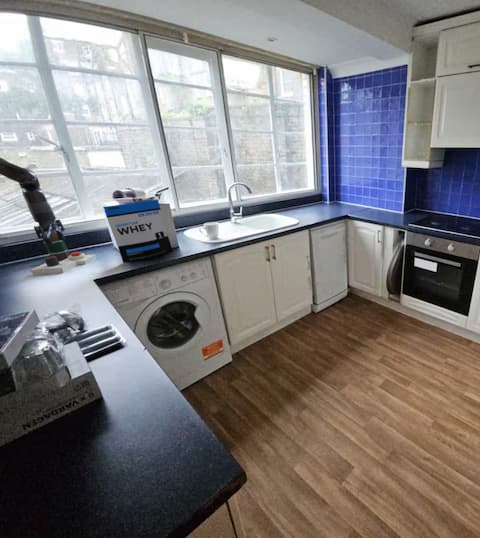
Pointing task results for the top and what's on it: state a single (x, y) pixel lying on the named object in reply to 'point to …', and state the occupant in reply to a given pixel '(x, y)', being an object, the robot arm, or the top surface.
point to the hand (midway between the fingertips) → (56, 242)
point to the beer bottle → (57, 247)
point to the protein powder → (139, 230)
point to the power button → (75, 254)
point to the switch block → (81, 258)
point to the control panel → (54, 268)
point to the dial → (51, 261)
